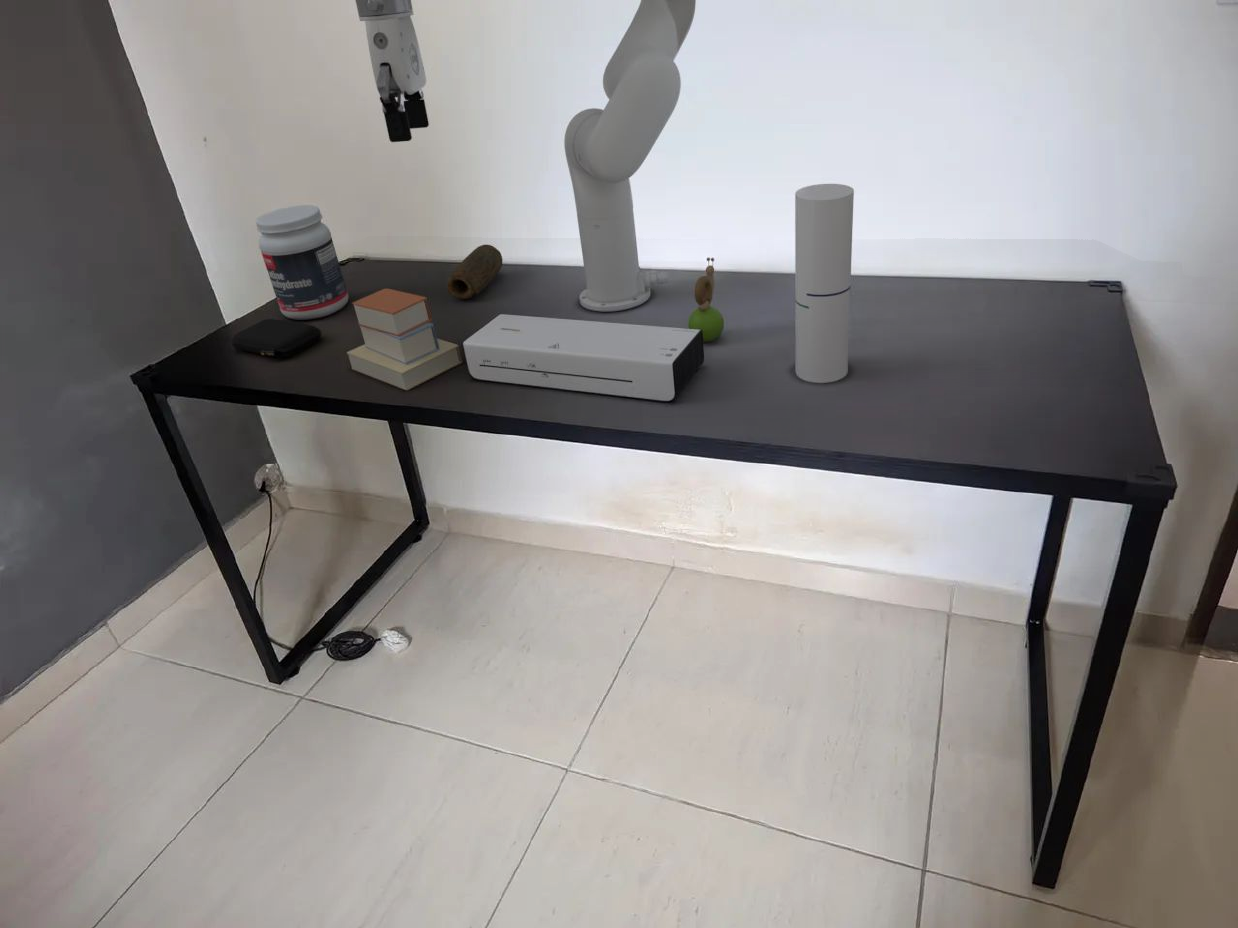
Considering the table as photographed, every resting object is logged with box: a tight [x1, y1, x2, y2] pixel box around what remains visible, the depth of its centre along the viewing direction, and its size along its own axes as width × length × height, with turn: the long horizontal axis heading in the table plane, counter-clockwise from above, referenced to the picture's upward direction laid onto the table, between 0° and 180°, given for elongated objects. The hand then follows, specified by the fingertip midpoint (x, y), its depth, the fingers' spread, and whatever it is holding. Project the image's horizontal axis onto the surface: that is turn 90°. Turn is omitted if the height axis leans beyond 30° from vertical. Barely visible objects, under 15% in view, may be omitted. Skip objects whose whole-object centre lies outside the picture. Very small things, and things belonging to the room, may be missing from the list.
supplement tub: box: [255, 204, 349, 321], centre depth 161 cm, size 13×13×18 cm
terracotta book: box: [351, 287, 433, 336], centre depth 134 cm, size 10×7×4 cm, turn 51°
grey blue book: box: [358, 322, 440, 365], centre depth 136 cm, size 12×6×4 cm, turn 45°
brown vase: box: [446, 244, 503, 300], centre depth 164 cm, size 15×7×7 cm, turn 168°
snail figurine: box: [687, 257, 725, 343], centre depth 132 cm, size 5×6×12 cm
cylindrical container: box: [794, 183, 855, 384], centre depth 115 cm, size 7×7×25 cm
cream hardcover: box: [346, 338, 463, 391], centre depth 138 cm, size 15×11×3 cm
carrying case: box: [231, 318, 322, 358], centre depth 151 cm, size 11×3×15 cm
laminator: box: [461, 313, 705, 403], centre depth 128 cm, size 34×12×6 cm, turn 65°
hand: (410, 134), depth 130 cm, fingers open, 9 cm apart
